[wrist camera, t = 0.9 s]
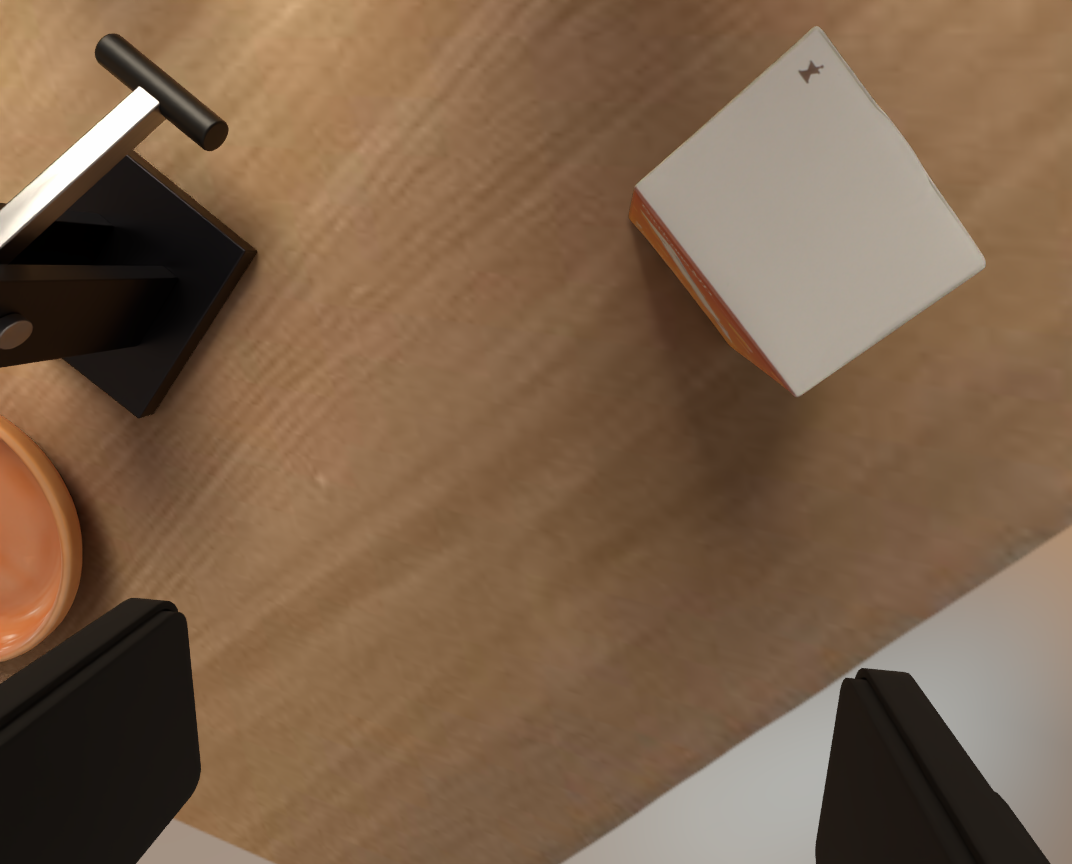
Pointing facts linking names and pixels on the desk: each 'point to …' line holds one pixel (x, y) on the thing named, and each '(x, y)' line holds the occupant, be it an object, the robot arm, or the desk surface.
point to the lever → (107, 143)
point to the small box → (804, 220)
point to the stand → (121, 285)
